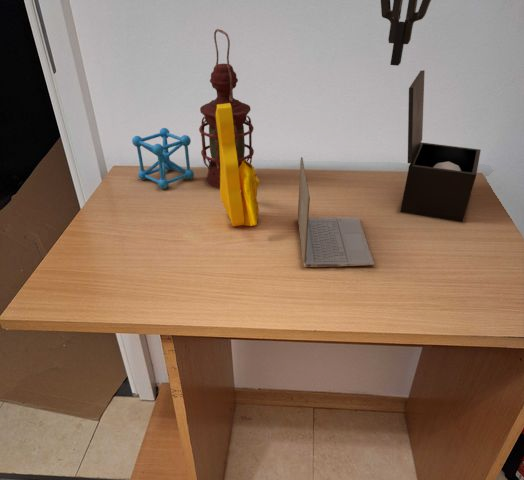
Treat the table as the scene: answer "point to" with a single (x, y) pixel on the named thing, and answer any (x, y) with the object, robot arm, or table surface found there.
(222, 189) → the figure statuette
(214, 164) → the lantern
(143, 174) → the molecular structure
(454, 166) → the geometric ball
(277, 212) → the table surface
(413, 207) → the box
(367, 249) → the laptop
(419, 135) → the dark brown box lid
